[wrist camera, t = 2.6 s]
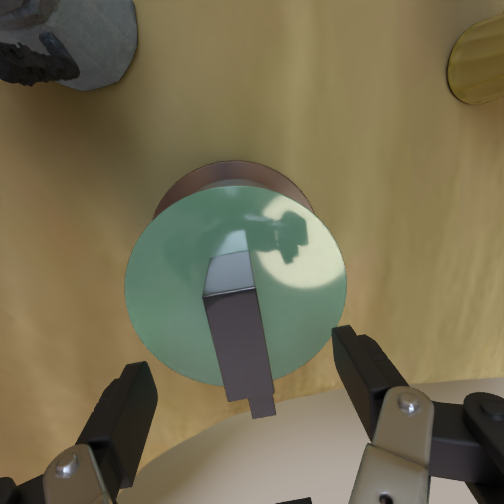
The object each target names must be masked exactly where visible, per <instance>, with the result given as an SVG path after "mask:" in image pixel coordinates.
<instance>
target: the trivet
mask: <svg viewBox="0 0 504 504" xmlns="http://www.w3.org/2000/svg"><path fill="white" fill-rule="evenodd" d="M227 179H244V180H250V181H254V182H258V183H261V184H263V185H265V186H268V187H270V188H271V189H273V190H275V191H277V192H280V193H282V194H284V195H286V196H288V197H290V198H293V199H294V200H296V201H297V202H299V203H300V204H302V205H304V206H305V207H307V208H308V209H309V210H310V211H311V212H312V213H314V211H313V209H312V207H311V205H310V203H309V201H308V200H307V198H306V197H305V195H304V194H303V193H302V192H301V190H300V189H299V188H298V187H297V186H296V185H295V184H294V183H293V182H292V181H290V180H289V179H288V178H287V177H285V176H284V175H282V174H281V173H279V172H277V171H275V170H273V169H271V168H269V167H267V166H263V165H260V164H257V163H253V162H247V161H222V162H217V163H213V164H208V165H206V166H203V167H201V168H198V169H196V170H194V171H192V172H191V173H189V174H187V175H185V176H184V177H183V178H182V179H180V180H179V181H178V182H176V183H175V184H174V185H173V186H172V187H171V188H170V190H169V191H168V192H167V193H166V194H165V196H164V197H163V199H162V200H161V202H160V204H159V205H158V207H157V209H156V211H155V214H154V217H153V220H154V219H155V218H156V217H157V216H158V215H159V214H160V213H161V212H163V211H164V210H165V209H166V208H168V207H169V206H170V205H172V204H173V203H175V202H177V201H178V200H180V199H182V198H184V197H186V196H188V195H190V194H192V193H193V192H194V191H196V190H198V189H199V188H201V187H203V186H205V185H208V184H210V183H213V182H217V181H221V180H227ZM314 214H315V213H314ZM153 220H152V221H153Z"/></svg>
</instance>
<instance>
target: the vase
mask: <svg viewBox="0 0 504 504" xmlns="http://www.w3.org/2000/svg"><path fill="white" fill-rule="evenodd" d="M448 81H449V85H450V87H451V90H452V92H453V93H454V94H455V95H456V97H458V98H459V99H460V100H462V101H463V102H465V103H468V104H483V103H487V102H490V101H492V100H495V99H498V98H501V97H504V12H503V13H501V14H499V15H496V16H494V17H491V18H488V19H485V20H483V21H481V22H478V23H476V24H475V25H473V26H471V27H470V28H469V29H468V30H467V31H465V32H464V33H463V35H462V36H461V37H460V38H459V39H458V41H457V43H456V44H455V46H454V48H453V50H452V53H451V56H450V60H449V65H448Z"/></svg>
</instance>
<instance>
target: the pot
mask: <svg viewBox="0 0 504 504" xmlns="http://www.w3.org/2000/svg"><path fill="white" fill-rule="evenodd" d="M346 292H347V277H346V270H345V264H344V261H343V257H342V254H341V251H340V249H339V247H338V245H337V242H336V240H335V239H334V237H333V236H332V234H331V233H330V231H329V229H328V228H327V227H326V226H325V225H324V223H323V222H322V221H321V220H320V219H319V218H318V217H317V216H316V215H315V214H314V213H312V212H311V211H310V210H309V209H308V208H307V207H305V206H304V205H302V204H300V203H299V202H297V201H296V200H294V199H293V198H290V197H288V196H286V195H284V194H282V193H280V192H277V191H275V190H273V189H271V188H270V187H268V186H265V185H263V184H261V183H258V182H254V181H250V180H244V179H227V180H221V181H217V182H213V183H210V184H208V185H205V186H203V187H201V188H199V189H198V190H196V191H194V192H193V193H192V194H190V195H188V196H186V197H184V198H182V199H180V200H178V201H177V202H175V203H173V204H172V205H170V206H169V207H168V208H166V209H165V210H164V211H163V212H161V213H160V214H159V215H158V216H157V217H156V218H155V219H154V220H153V221H152V222H151V223H150V224H149V225H148V226H147V227H146V229H145V230H144V232H143V233H142V234H141V236H140V237H139V239H138V241H137V243H136V244H135V246H134V248H133V250H132V253H131V256H130V258H129V261H128V264H127V270H126V275H125V300H126V306H127V310H128V314H129V318H130V320H131V322H132V325H133V327H134V329H135V331H136V333H137V334H138V336H139V338H140V339H141V341H142V342H143V344H144V345H145V346H146V347H147V349H148V350H149V351H150V352H151V353H152V354H153V355H154V356H155V357H156V358H157V359H158V360H159V361H161V362H162V363H163V364H165V365H166V366H167V367H169V368H170V369H172V370H174V371H175V372H177V373H179V374H181V375H183V376H185V377H188V378H190V379H192V380H196V381H199V382H202V383H206V384H211V385H216V386H224V389H225V393H226V397H227V400H228V402H231V401H237V400H242V399H248V400H249V405H250V409H251V414H252V418H253V419H256V418H262V417H267V416H273V415H276V411H275V404H274V398H273V394H274V393H275V390H274V384H273V380H275V379H278V378H281V377H283V376H285V375H287V374H289V373H291V372H293V371H295V370H296V369H298V368H299V367H301V366H303V365H304V364H305V363H307V362H308V361H309V360H310V359H312V358H313V357H314V356H315V355H316V354H317V353H318V352H319V351H320V350H321V349H322V348H323V346H324V345H325V344H326V343H327V341H328V340H329V339H330V337H331V336H332V333H331V329H332V328H333V327H337V325H338V322H339V320H340V318H341V315H342V312H343V308H344V305H345V299H346Z"/></svg>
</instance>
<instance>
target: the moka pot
mask: <svg viewBox="0 0 504 504" xmlns="http://www.w3.org/2000/svg"><path fill="white" fill-rule="evenodd" d="M136 47H137V25H136V15H135V6H134V3H133V1H132V0H0V79H1V80H4V81H6V82H9V83H20V84H22V85H24V86H26V85H29V86H31V87H32V86H33V85H34V84H35V83H36V82H46V83H47V82H48V81H55V82H57V83H59V84H62V85H64V86H67V87H70V88H74V89H77V90H80V91H88V90H94V89H97V88H101V87H105V86H107V85H110V84H113V83H117V82H118V81H119V80H120V79H121V77H122V76H123V75H124V73H125V72H126V70H127V68H128V67H129V65H130V63H131V61H132V59H133V56H134V53H135V50H136Z"/></svg>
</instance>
